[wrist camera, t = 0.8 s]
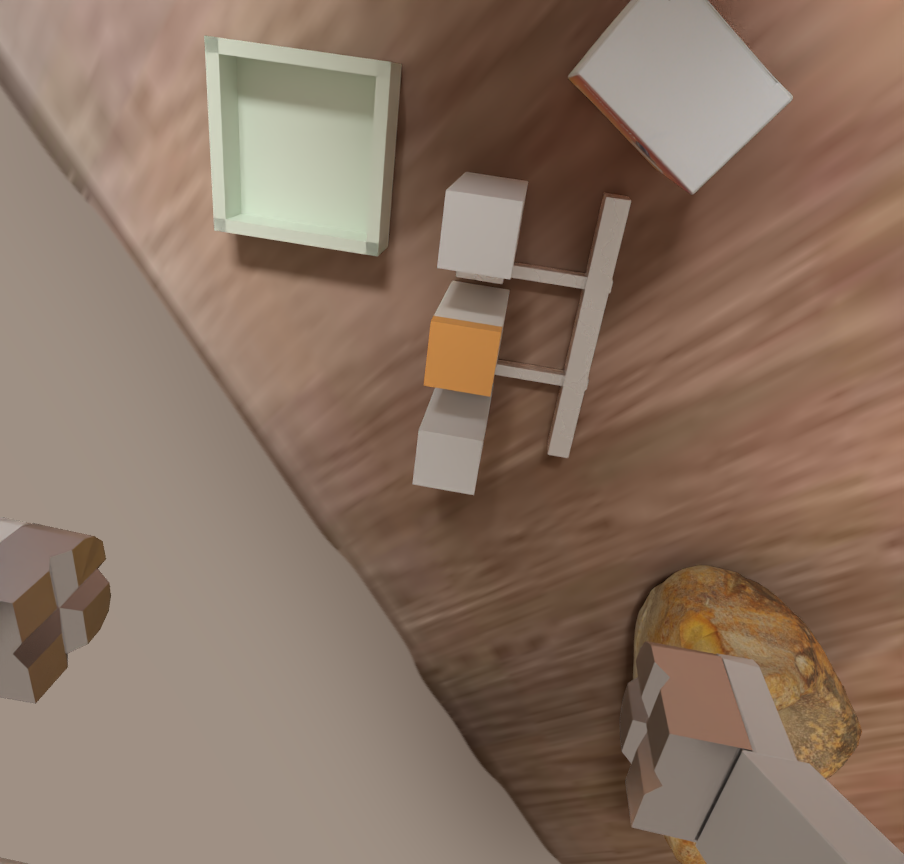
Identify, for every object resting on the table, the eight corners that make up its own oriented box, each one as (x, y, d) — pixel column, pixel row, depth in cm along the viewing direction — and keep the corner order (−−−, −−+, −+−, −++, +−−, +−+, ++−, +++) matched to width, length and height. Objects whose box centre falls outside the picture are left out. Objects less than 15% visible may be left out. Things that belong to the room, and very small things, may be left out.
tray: (227, 39, 39) (204, 35, 36) (401, 64, 38) (391, 61, 36) (234, 222, 44) (214, 230, 41) (388, 246, 43) (377, 256, 41)
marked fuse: (452, 280, 44) (430, 321, 36) (510, 289, 44) (501, 332, 36) (445, 335, 46) (423, 385, 38) (500, 344, 46) (490, 396, 38)
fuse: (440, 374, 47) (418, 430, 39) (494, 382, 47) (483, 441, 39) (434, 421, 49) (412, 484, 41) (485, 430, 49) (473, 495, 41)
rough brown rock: (785, 748, 62) (870, 924, 48) (610, 741, 62) (645, 912, 49) (853, 549, 51) (984, 700, 38) (643, 542, 52) (698, 689, 39)
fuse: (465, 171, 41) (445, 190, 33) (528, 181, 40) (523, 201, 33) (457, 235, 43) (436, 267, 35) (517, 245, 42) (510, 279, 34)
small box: (565, 77, 38) (571, 71, 28) (639, -12, 35) (672, -49, 26) (658, 175, 39) (691, 199, 30) (735, 97, 37) (797, 98, 28)
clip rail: (473, 172, 41) (468, 178, 38) (631, 196, 40) (637, 203, 37) (440, 423, 49) (434, 441, 47) (570, 445, 49) (572, 465, 46)
